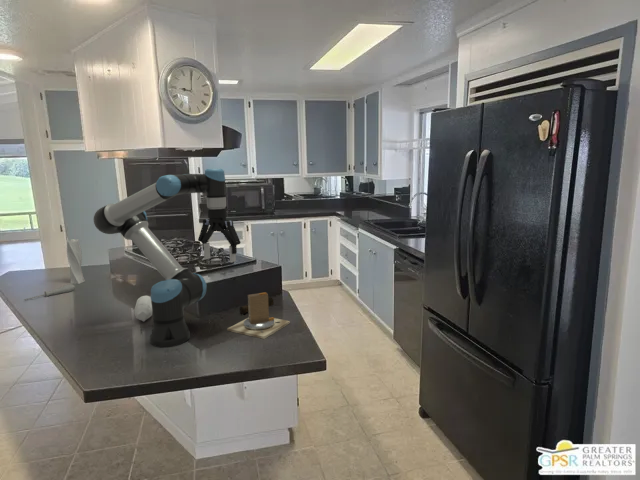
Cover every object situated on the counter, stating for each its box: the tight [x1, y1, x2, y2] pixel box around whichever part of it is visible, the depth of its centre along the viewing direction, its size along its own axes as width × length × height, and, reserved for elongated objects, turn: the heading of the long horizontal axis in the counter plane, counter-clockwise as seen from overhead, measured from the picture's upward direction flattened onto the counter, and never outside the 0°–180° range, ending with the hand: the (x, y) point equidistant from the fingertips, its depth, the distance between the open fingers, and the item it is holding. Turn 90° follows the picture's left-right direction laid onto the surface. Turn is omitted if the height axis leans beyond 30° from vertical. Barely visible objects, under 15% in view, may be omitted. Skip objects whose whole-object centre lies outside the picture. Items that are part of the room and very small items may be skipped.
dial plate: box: [226, 317, 291, 340], centre depth 184 cm, size 19×19×1 cm
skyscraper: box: [66, 236, 86, 285], centre depth 256 cm, size 8×8×28 cm
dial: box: [244, 291, 275, 330], centre depth 183 cm, size 13×13×14 cm
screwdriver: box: [24, 284, 76, 301], centre depth 233 cm, size 5×25×4 cm, turn 140°
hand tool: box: [239, 296, 275, 315], centre depth 206 cm, size 19×4×5 cm, turn 132°
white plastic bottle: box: [133, 295, 153, 322], centre depth 196 cm, size 8×19×8 cm, turn 18°
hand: (219, 260), depth 174 cm, fingers open, 13 cm apart
